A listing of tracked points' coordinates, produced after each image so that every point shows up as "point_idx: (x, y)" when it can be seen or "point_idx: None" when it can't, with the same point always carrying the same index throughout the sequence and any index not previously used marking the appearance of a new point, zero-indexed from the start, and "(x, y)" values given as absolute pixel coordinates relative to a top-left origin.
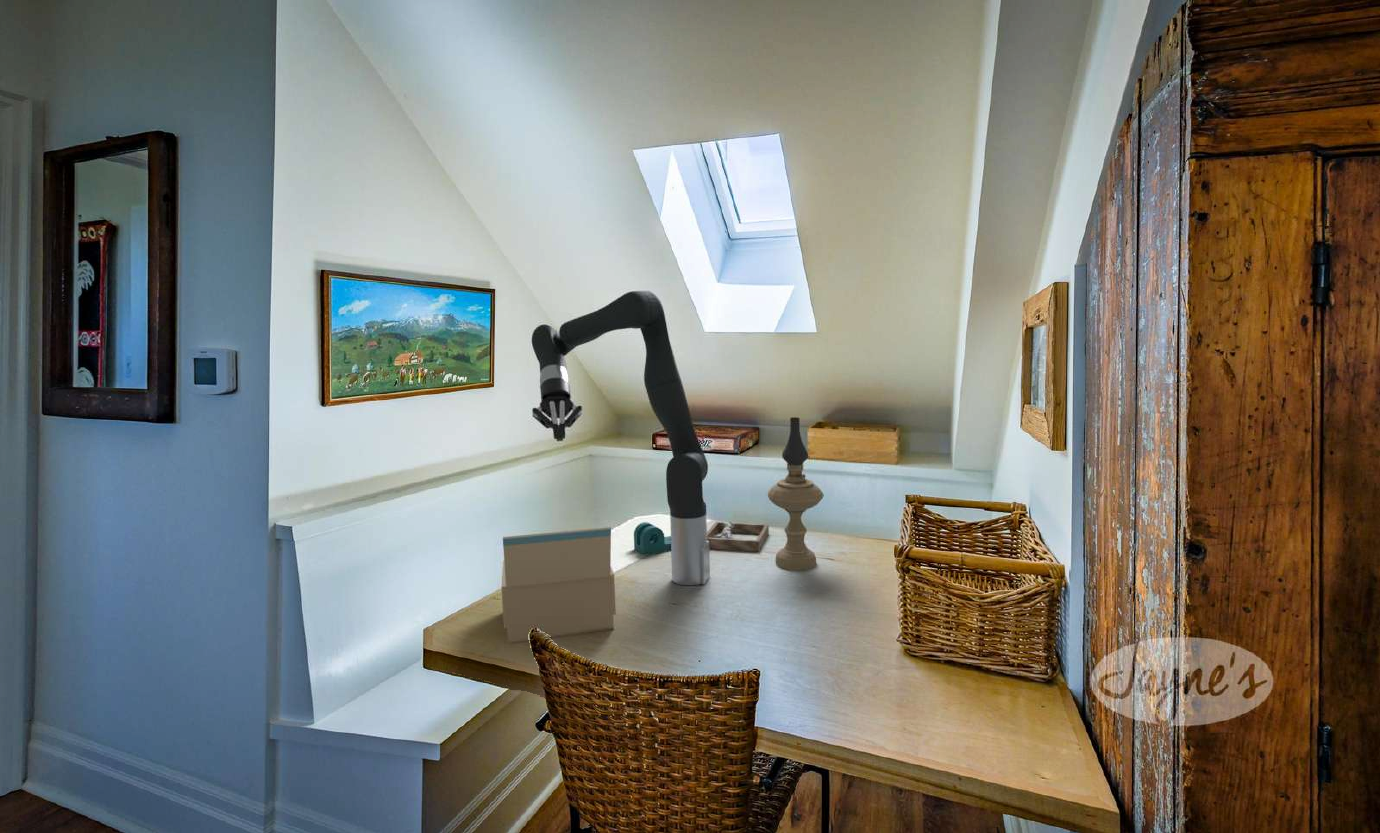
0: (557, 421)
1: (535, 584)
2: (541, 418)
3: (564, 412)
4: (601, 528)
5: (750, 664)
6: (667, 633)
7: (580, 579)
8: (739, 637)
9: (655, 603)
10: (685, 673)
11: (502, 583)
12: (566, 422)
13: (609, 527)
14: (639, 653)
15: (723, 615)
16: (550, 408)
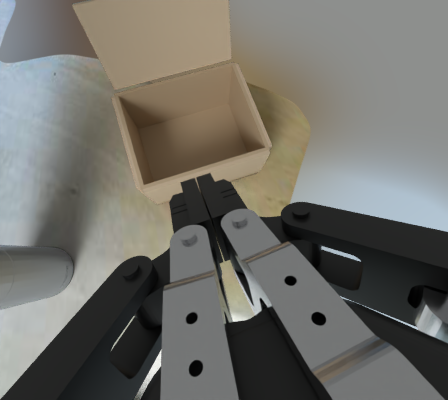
0: (224, 230)
1: (201, 71)
2: (364, 219)
3: (163, 310)
4: (86, 2)
5: (11, 68)
6: (82, 121)
7: (151, 84)
8: (12, 113)
9: (95, 192)
10: (68, 55)
11: (240, 71)
12: (160, 264)
13: (73, 5)
14: (107, 85)
15: (20, 161)
16: (356, 317)
